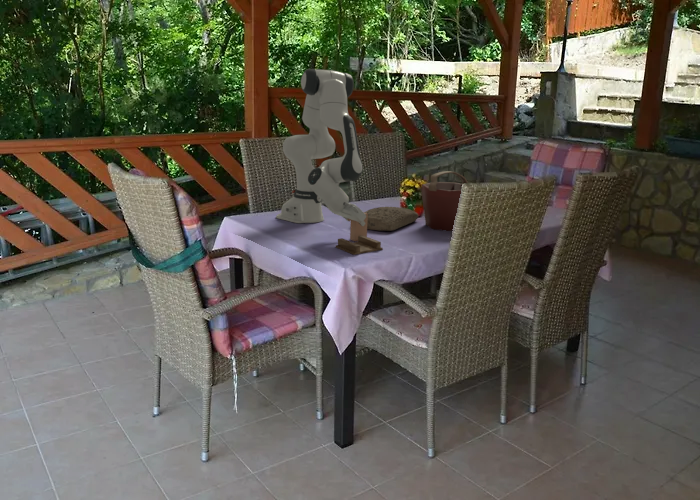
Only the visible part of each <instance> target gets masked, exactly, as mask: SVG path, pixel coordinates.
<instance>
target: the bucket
mask: <svg viewBox="0 0 700 500" xmlns="http://www.w3.org/2000/svg"><path fill="white" fill-rule="evenodd" d="M446 174H453V175H454V176H455V177H458V178H459V179H460V181H461V182H462V183H459V182H449V181H448V182H447V181H438V178H439V177H441V176H443V175H444V176H445V175H446ZM463 183H469V182H468V180H467V178H466V177H465V176H463V175H462V174H460V173H458V172H456V171H450V170H447V171H446V170H445V171H440V172H436V173H433V174H432V175H430V182H427V183H422V184H421V198H422V204H423V205H422V206H423V213H424V220H425V225H426V226H427V227H428V228H429V229H432V230H438V231H443V230H446V231H445V232H452V229H453V225H454V220H455V216H456V213H457V208H458V203H459V198H460V194H461V186H462V184H463Z"/></svg>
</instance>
